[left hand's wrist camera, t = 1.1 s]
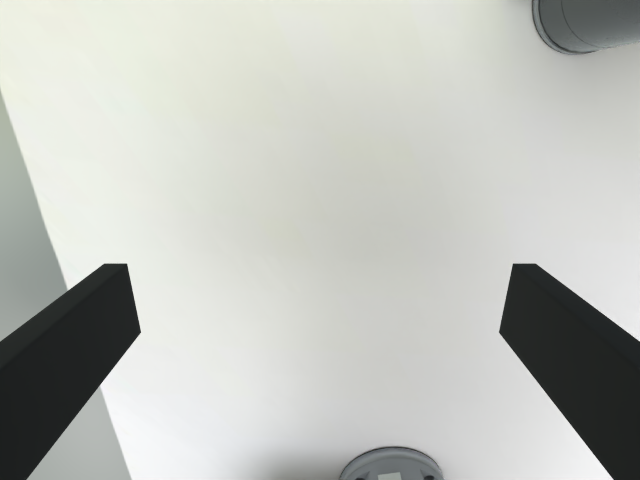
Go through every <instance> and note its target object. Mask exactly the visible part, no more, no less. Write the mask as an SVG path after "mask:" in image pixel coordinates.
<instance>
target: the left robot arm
mask: <svg viewBox="0 0 640 480" xmlns="http://www.w3.org/2000/svg"><path fill="white" fill-rule="evenodd" d="M140 333H141V330H140V325H139V320H138V315H137V310H136V306H135V301H134V296H133V291H132V286H131V281H130V276H129V271H128V266H127V264H103V265H102V266H101V267H99V268H98V269H97V270H95V271H94V272H93V273H91V274H90V275H89V276H87V277H86V278H85V279H83V280H82V281H81V282H79V283H78V284H77V285H75V286H74V287H73V288H71V289H70V290H69V291H67V292H66V293H65V294H63V295H62V296H61V297H59V298H58V299H57V300H55V301H54V302H53V303H51V304H50V305H49V306H47V307H46V308H45V309H43V310H42V311H41V312H39V313H38V314H37V315H35V316H34V317H33V318H31V319H30V320H29V321H27V322H26V323H25V324H23V325H22V326H21V327H19V328H18V329H17V330H15V331H14V332H13V333H11V334H10V335H9V336H7V337H6V338H5V339H3V340H2V341H1V342H0V480H26V479H27V478H28V477H29V476H30V474H31V473H32V472H33V470H34V469H35V468H36V467H37V465H38V464H39V463H40V461H41V460H42V459H43V458H44V456H45V455H46V454H47V452H48V451H49V450H50V449H51V447H52V446H53V445H54V443H55V442H56V441H57V440H58V438H59V437H60V436H61V434H62V433H63V432H64V431H65V429H66V428H67V427H68V425H69V424H70V423H71V422H72V420H73V419H74V418H75V416H76V415H77V414H78V413H79V411H80V410H81V409H82V407H83V406H84V405H85V404H86V402H87V401H88V400H89V398H90V397H91V396H92V395H93V393H94V392H95V391H96V389H97V388H98V387H99V386H100V384H101V383H102V382H103V380H104V379H105V378H106V377H107V375H108V374H109V373H110V371H111V370H112V369H113V368H114V366H115V365H116V364H117V362H118V361H119V360H120V359H121V357H122V356H123V355H124V353H125V352H126V351H127V350H128V348H129V347H130V346H131V345H132V343H133V342H134V341H135V339H136V338H137V337H138V336H139V334H140ZM499 333H500V334H501V336H502V337H503V338H504V339H505V341H506V342H507V343H508V345H509V346H510V347H511V348H512V350H513V351H514V352H515V354H516V355H517V356H518V357H519V359H520V360H521V361H522V362H523V364H524V365H525V366H526V368H527V369H528V370H529V371H530V373H531V374H532V375H533V377H534V378H535V379H536V380H537V382H538V383H539V384H540V386H541V387H542V388H543V389H544V391H545V392H546V393H547V395H548V396H549V397H550V398H551V400H552V401H553V402H554V404H555V405H556V406H557V407H558V409H559V410H560V411H561V413H562V414H563V415H564V416H565V418H566V419H567V420H568V422H569V423H570V424H571V425H572V427H573V428H574V429H575V431H576V432H577V433H578V434H579V436H580V437H581V438H582V440H583V441H584V442H585V443H586V445H587V446H588V447H589V449H590V450H591V451H592V452H593V454H594V455H595V456H596V458H597V459H598V460H599V461H600V463H601V464H602V465H603V467H604V468H605V469H606V470H607V472H608V473H609V474H610V476H611V477H612V478H613V479H614V480H640V342H639V341H638V340H637V339H635V338H634V337H633V336H631V335H630V334H629V333H627V332H626V331H625V330H623V329H622V328H621V327H619V326H618V325H617V324H615V323H614V322H613V321H611V320H610V319H609V318H607V317H606V316H605V315H603V314H602V313H601V312H599V311H598V310H597V309H595V308H594V307H593V306H591V305H590V304H589V303H587V302H586V301H585V300H583V299H582V298H581V297H579V296H578V295H577V294H575V293H574V292H573V291H571V290H570V289H569V288H567V287H566V286H565V285H563V284H562V283H561V282H559V281H558V280H557V279H555V278H554V277H553V276H551V275H550V274H549V273H547V272H546V271H545V270H543V269H542V268H541V267H539V266H538V265H537V264H513V266H512V271H511V276H510V281H509V286H508V291H507V296H506V301H505V306H504V310H503V315H502V320H501V325H500V330H499ZM340 480H444V479H443V476H442V473H441V470H440V469H439V467H438V466H437V464H436V463H435V462H434V461H433V460H432V459H430V458H429V457H427V456H426V455H424V454H422V453H420V452H417V451H414V450H410V449H404V448H384V449H379V450H374V451H371V452H368V453H366V454H364V455H362V456H360V457H358V458H356V459H355V460H354V461H352V462H351V463H350V464H349V465H348V466H347V467H346V468H345V470H344V471H343V473H342V474H341V477H340Z"/></svg>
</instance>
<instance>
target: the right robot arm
mask: <svg viewBox="0 0 640 480" xmlns="http://www.w3.org/2000/svg"><path fill="white" fill-rule="evenodd" d="M533 15H534V21H535V25H536V27H537V30H538V32H539V34H540V36H541V37H542V39H543V40H544V41H545V42H546V43H547V44H548V45H549V46H550V47H552V48H553V49H555V50H557V51H559V52H561V53H565V54H572V55H577V54H585V53H591V52H594V51H598V50H601V49H606V48H612V47H617V46H622V45H628V44H633V43H639V42H640V0H533Z"/></svg>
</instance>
